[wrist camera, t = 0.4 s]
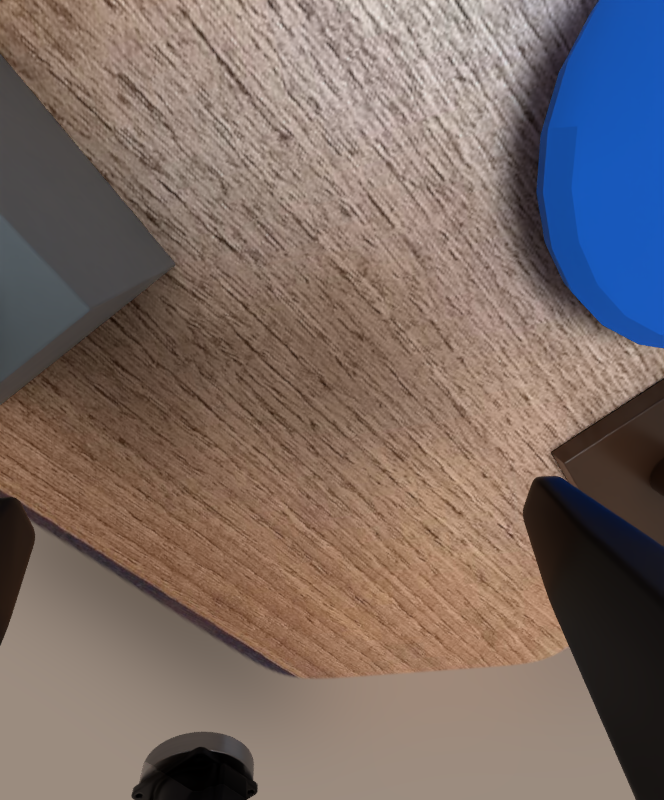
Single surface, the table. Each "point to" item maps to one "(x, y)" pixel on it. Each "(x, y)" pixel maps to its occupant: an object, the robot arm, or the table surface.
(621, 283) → the blue rounded piece
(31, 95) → the block
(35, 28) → the table surface
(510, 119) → the table surface
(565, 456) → the stand
